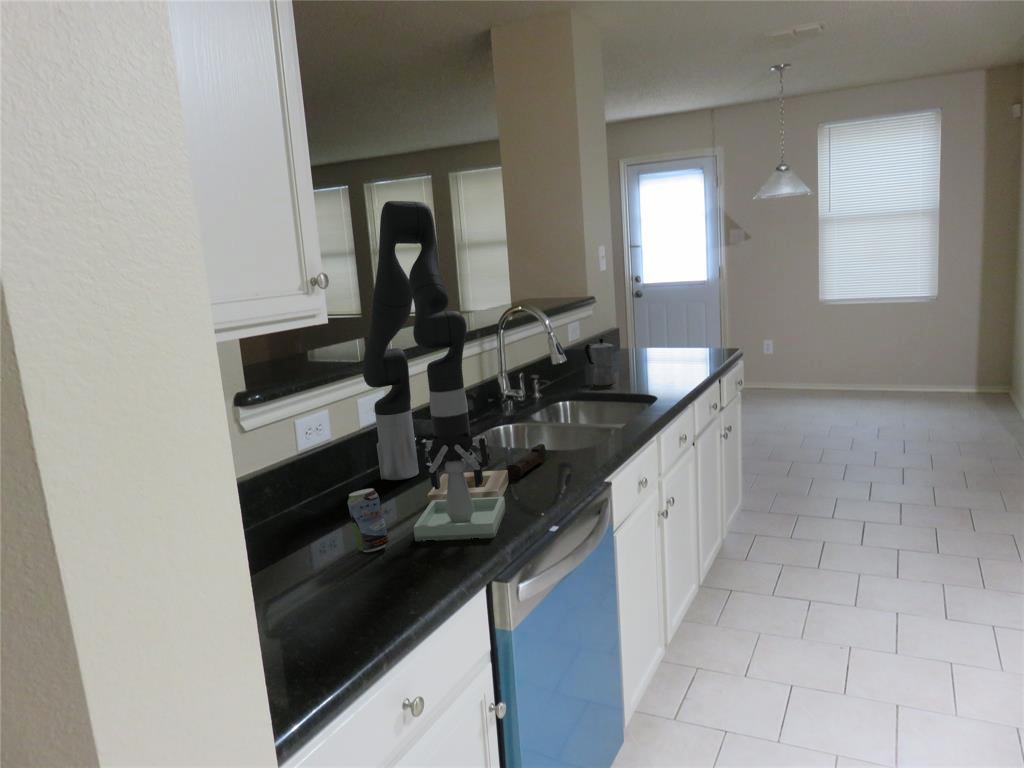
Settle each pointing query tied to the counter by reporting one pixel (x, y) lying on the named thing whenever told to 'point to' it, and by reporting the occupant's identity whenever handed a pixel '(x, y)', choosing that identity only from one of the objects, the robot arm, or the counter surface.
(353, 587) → the counter surface
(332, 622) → the counter surface
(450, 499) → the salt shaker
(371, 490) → the beverage can
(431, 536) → the parts tray
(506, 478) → the holder
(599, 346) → the coffeepot
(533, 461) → the hand tool
